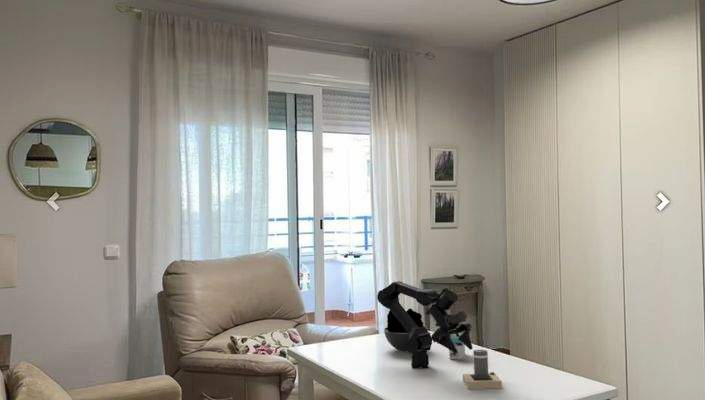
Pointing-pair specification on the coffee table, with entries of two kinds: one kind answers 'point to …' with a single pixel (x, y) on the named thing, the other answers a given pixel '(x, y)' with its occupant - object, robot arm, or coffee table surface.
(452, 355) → the light bulb box
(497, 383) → the tan square frame
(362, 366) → the coffee table surface
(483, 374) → the canister
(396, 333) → the coal bowl
